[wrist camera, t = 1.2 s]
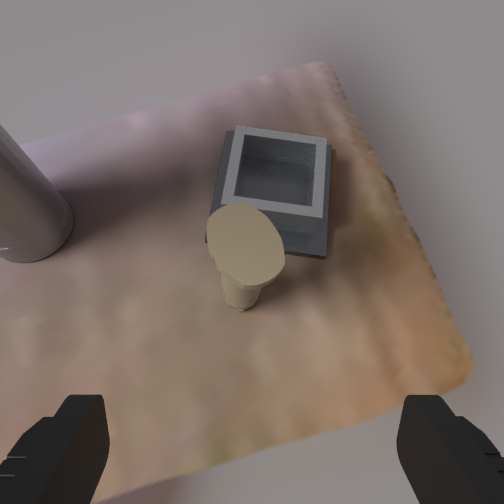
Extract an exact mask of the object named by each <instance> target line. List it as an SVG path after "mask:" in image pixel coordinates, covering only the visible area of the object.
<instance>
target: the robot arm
mask: <svg viewBox="0 0 504 504" xmlns="http://www.w3.org/2000/svg"><path fill="white" fill-rule="evenodd" d="M72 227H73V213H72V209H71V208H70V206H69V204H68V203H67V202H66V200H65V199H64V198H63V197H62V196H61V195H60V193H59V192H58V191H57V190H56V189H55V188H54V186H53V185H52V184H51V183H50V182H49V180H48V179H47V178H46V177H45V176H44V175H43V173H42V172H41V171H40V170H39V169H38V168H37V166H36V165H35V164H34V163H33V162H32V161H31V159H30V158H29V157H28V156H27V155H26V154H25V152H24V151H23V150H22V149H21V148H20V147H19V145H18V144H17V143H16V142H15V141H14V140H13V139H12V138H11V136H10V135H9V134H8V133H7V132H6V130H5V129H4V128H3V127H2V126H1V125H0V257H2V258H4V259H6V260H9V261H12V262H18V263H26V262H33V261H37V260H40V259H43V258H45V257H47V256H49V255H51V254H52V253H54V252H55V251H57V250H58V249H59V248H60V247H61V246H62V245H63V244H64V243H65V241H66V240H67V239H68V237H69V235H70V233H71V231H72ZM109 446H110V439H109V432H108V425H107V419H106V412H105V406H104V400H103V397H102V396H101V395H69V396H68V397H67V398H66V399H65V400H64V402H63V403H62V405H61V406H60V408H59V409H58V411H57V412H56V414H55V415H54V417H43V418H42V419H41V420H40V421H38V422H37V423H36V424H35V425H33V426H32V427H31V428H30V429H29V430H27V431H26V432H25V433H24V434H23V435H22V436H21V437H20V439H19V440H18V441H17V443H16V444H15V445H14V447H13V448H12V450H11V451H10V452H9V454H8V455H7V459H6V460H4V461H3V462H2V463H1V465H0V504H90V502H91V500H92V497H93V495H94V492H95V490H96V487H97V485H98V483H99V480H100V478H101V475H102V473H103V470H104V468H105V465H106V462H107V459H108V454H109ZM397 452H398V457H399V460H400V463H401V465H402V468H403V470H404V472H405V474H406V476H407V478H408V480H409V482H410V484H411V486H412V488H413V491H414V493H415V495H416V497H417V499H418V501H419V503H420V504H504V457H501V455H500V452H499V451H498V450H497V448H496V447H495V446H494V445H493V443H492V442H491V441H490V440H489V439H488V437H487V436H486V435H485V433H483V432H482V431H481V430H479V429H478V428H477V427H476V426H474V425H473V424H472V423H471V422H469V421H468V420H467V419H465V418H464V417H462V416H459V417H458V416H455V414H454V413H453V412H452V411H451V409H450V408H449V406H448V405H447V404H446V403H445V401H444V400H443V399H442V398H441V397H440V396H438V395H408V396H407V397H406V398H405V401H404V406H403V410H402V415H401V421H400V425H399V430H398V435H397Z"/></svg>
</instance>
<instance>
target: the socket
mask: <svg viewBox="0 0 504 504" xmlns="http://www.w3.org/2000/svg"><path fill="white" fill-rule="evenodd" d="M331 149H332V145H327V138H325V137H318V136H310V135H303V134H296V133H289V132H282V131H275V130H268V129H261V128H253V127H246V126H239V125H236V127H235V132H233V131H227V133H226V138H225V143H224V147H223V152H222V157H221V162H220V167H219V172H218V177H217V182H216V187H215V191H214V196H213V201H212V206H211V211H210V216H211V215H212V214H213V213H214V212H215V211H216V210H218V209H220V208H221V207H223V206H226V205H228V204H232V203H239V202H242V203H248V204H249V205H251V206H252V207H254V208H256V209H257V210H259V211H260V212H262V213H263V214H264V215H266V216H267V217H268V218H269V220H270V221H271V222H272V224H273V225H274V227H275V228H276V230H277V231H278V233H279V235H280V237H281V239H282V242H283V247H284V254H289V255H296V256H303V257H310V258H318V259H325V257H326V252H327V231H328V211H329V190H330V170H331ZM210 216H209V217H210ZM205 243H208V242H207V231H206V236H205Z"/></svg>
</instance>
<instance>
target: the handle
mask: <svg viewBox="0 0 504 504" xmlns="http://www.w3.org/2000/svg"><path fill="white" fill-rule="evenodd" d="M207 242H208V249H209V253H210V255H211V257H212V259H213V261H214V263H215V265H216V266H217V268H218V269H219V271H220V272H221V274H222V275H221V287H222V292H223V295H224V298H225V300H226V303H227V305H228V306H229V307H233V308H235V309H237V310H238V311H239V312H243V311H244V310H245V309H247V308H249V307H252V306H253V305H254V304H255V302H256V301H257V299H258V297H259V295H260V293H261V289H262V287H264V286H266V285H268V284H269V283H271V282H272V281H274V280H275V279H276V278H277V277H278V276H279V274H280V273H281V271H282V269H283V267H284V265H285V255H284V247H283V242H282V239H281V237H280V235H279V233H278V231H277V230H276V228H275V227H274V225H273V224H272V222H271V221H270V220H269V218H268V217H267V216H266V215H264V214H263V213H262V212H260V211H259V210H257V209H256V208H254V207H252V206H251V205H249V204H248V203H242V202H239V203H232V204H228V205H226V206H223V207H221V208H220V209H218V210H216V211H215V212H214V213H213V214H212V215H211V216H210V217H209V219H208V220H207Z"/></svg>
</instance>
